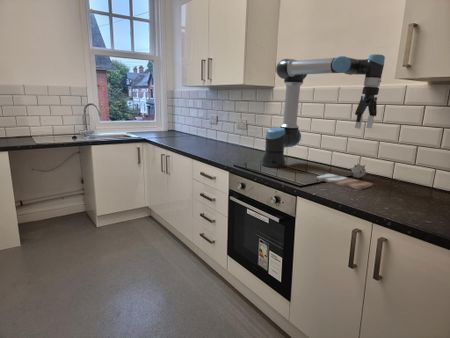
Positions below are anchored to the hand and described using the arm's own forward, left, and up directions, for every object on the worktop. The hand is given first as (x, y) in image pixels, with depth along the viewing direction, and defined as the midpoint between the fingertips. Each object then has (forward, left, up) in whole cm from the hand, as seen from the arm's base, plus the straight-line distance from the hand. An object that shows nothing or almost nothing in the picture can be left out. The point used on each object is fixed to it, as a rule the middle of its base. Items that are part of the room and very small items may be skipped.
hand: (363, 128), depth 160 cm
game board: (-1, -13, -28) cm, 31 cm away
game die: (0, 0, -28) cm, 28 cm away
